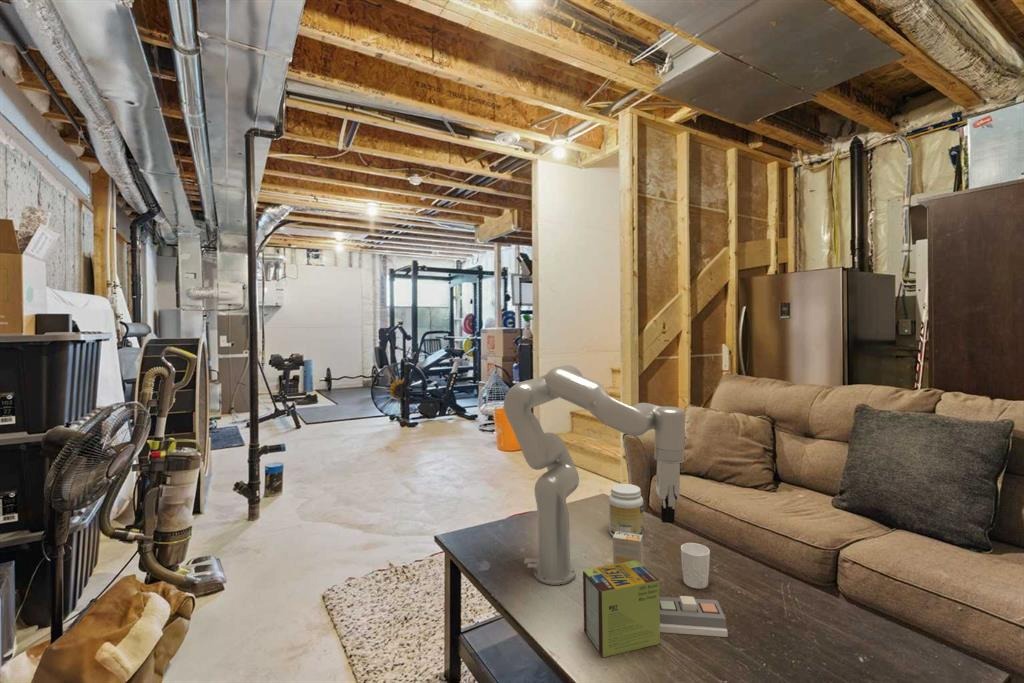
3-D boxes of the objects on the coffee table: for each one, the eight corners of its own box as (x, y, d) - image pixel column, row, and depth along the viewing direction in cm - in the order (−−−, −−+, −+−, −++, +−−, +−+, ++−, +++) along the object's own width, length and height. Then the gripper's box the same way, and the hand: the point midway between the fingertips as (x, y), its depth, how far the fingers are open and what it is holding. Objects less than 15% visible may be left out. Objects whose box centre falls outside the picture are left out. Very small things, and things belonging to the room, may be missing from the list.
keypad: (658, 632, 116) (658, 616, 116) (652, 607, 126) (652, 593, 126) (727, 637, 113) (727, 621, 113) (716, 612, 123) (715, 597, 123)
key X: (682, 612, 118) (682, 603, 118) (679, 604, 121) (679, 595, 121) (696, 613, 118) (696, 604, 117) (693, 605, 121) (693, 596, 121)
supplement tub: (648, 542, 163) (647, 493, 163) (613, 542, 164) (612, 494, 163) (639, 527, 176) (638, 482, 175) (606, 527, 176) (605, 482, 175)
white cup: (712, 591, 133) (712, 556, 132) (683, 588, 134) (683, 554, 134) (707, 576, 141) (706, 543, 140) (679, 574, 142) (678, 541, 142)
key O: (662, 617, 119) (661, 608, 119) (659, 609, 122) (659, 600, 122) (676, 618, 118) (675, 609, 118) (673, 610, 122) (673, 601, 122)
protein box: (661, 644, 112) (660, 579, 111) (602, 658, 107) (601, 591, 107) (637, 618, 122) (636, 559, 121) (582, 630, 117) (581, 569, 117)
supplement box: (644, 577, 141) (643, 534, 140) (641, 585, 136) (640, 541, 136) (616, 572, 144) (615, 530, 144) (613, 580, 140) (612, 536, 139)
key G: (703, 620, 117) (703, 611, 117) (700, 612, 121) (700, 603, 121) (718, 621, 117) (717, 612, 117) (714, 613, 120) (714, 603, 120)
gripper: (651, 445, 133) (650, 509, 134) (657, 461, 118) (656, 532, 119) (679, 447, 132) (677, 511, 133) (689, 463, 117) (687, 535, 118)
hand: (667, 521), depth 126 cm, fingers closed
